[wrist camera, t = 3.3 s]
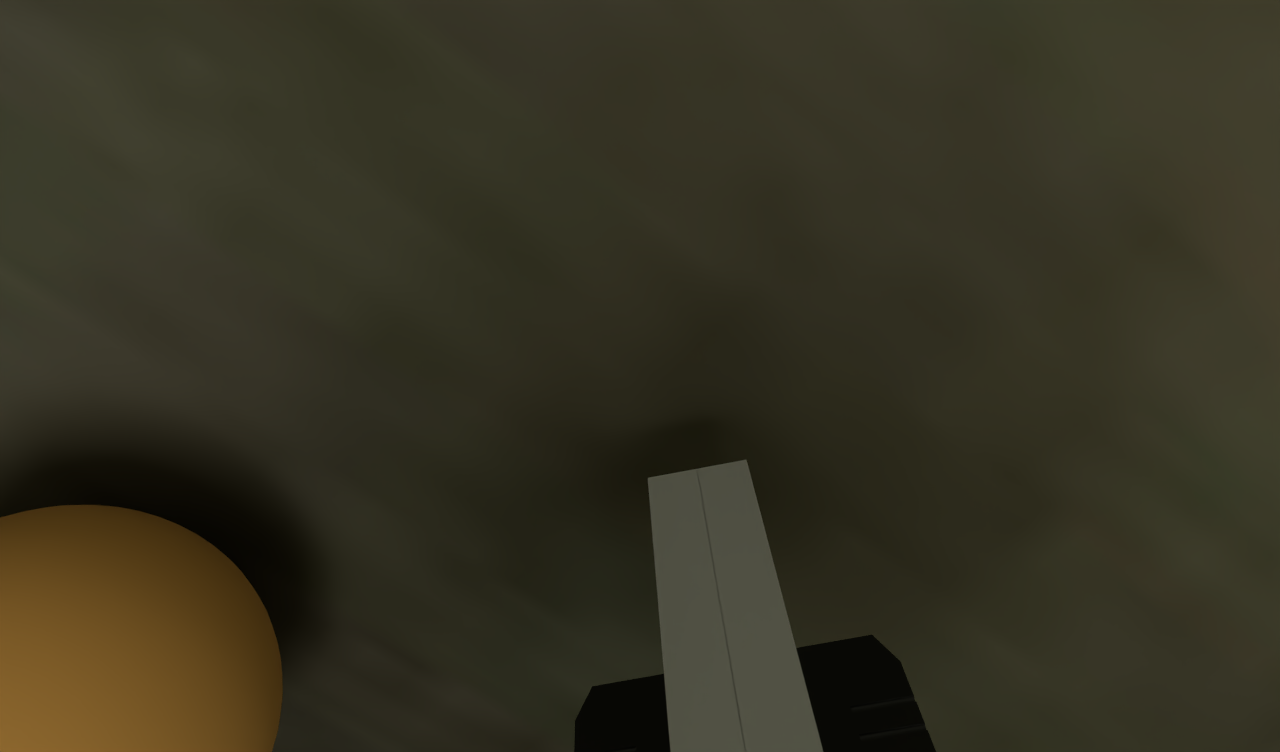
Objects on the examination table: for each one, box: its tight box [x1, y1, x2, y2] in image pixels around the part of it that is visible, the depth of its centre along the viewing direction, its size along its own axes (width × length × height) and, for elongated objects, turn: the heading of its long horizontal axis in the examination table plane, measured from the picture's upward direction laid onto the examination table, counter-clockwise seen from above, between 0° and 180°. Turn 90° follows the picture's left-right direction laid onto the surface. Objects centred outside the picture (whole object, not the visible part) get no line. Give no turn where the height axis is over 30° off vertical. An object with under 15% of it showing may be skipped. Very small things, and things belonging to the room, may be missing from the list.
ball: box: [0, 505, 283, 752], centre depth 15 cm, size 6×6×6 cm
